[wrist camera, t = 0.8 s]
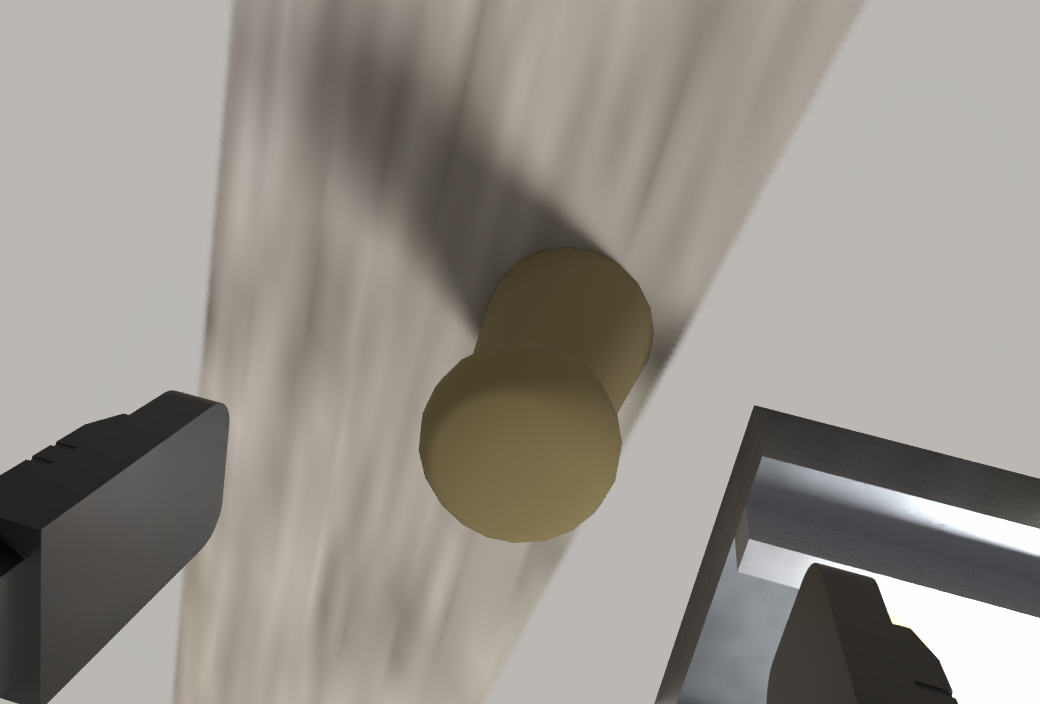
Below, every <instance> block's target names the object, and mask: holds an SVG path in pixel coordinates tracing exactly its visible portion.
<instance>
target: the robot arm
mask: <svg viewBox="0 0 1040 704" xmlns="http://www.w3.org/2000/svg"><path fill="white" fill-rule="evenodd" d="M228 431H229V413H228V409H227V407H226V406H225V405H224V404H223V403H219V402H215V401H212V400H208V399H204V398H200V397H197V396H193V395H189V394H185V393H182V392H178V391H173V390H171V391H167V392H165V393H163V394H162V395H160V396H159V397H157V398H156V399H154V400H152V401H151V402H149V403H148V404H146V405H145V406H143V407H141V408H140V409H138V410H136V411H135V412H133V413H132V414H130V415H127V414H121V415H117V416H114V417H110V418H107V419H103V420H99V421H96V422H92V423H89V424H85V425H83V426H82V427H80V428H78V429H77V430H75V431H74V432H72V433H70V434H68V435H67V436H65V437H63V438H62V439H60V440H58V441H57V442H56V445H55V446H52V445H50V446H48V447H47V448H45V449H43V450H42V451H40V452H39V453H37V454H35V455H33V457H32V460H31V461H30V460H25V461H23V462H22V463H20V464H18V465H17V466H15V467H13V468H12V469H10V470H8V471H7V472H5V473H3V474H2V475H0V698H2V699H5V700H9V701H12V702H15V703H18V704H47V703H48V702H49V701H50V700H51V699H52V698H53V697H54V696H55V695H56V694H57V693H58V692H59V691H60V690H61V689H62V688H63V687H64V686H65V685H66V684H67V683H68V682H69V681H70V680H71V679H72V678H73V677H74V676H75V675H76V674H77V673H78V672H79V671H80V670H81V669H82V668H83V667H84V666H85V665H86V664H87V663H88V662H89V661H90V660H91V659H92V658H93V657H94V656H95V655H96V654H97V653H98V652H99V651H100V650H101V649H102V648H103V647H104V646H105V645H106V644H107V643H108V642H109V641H110V640H111V639H112V638H113V637H114V636H115V635H116V634H117V633H118V632H119V631H120V630H121V629H122V628H123V627H124V626H125V625H126V624H127V623H128V622H129V621H130V620H131V619H132V618H133V617H134V616H135V615H136V614H137V613H138V612H139V611H140V610H141V609H142V608H143V607H144V606H145V605H146V604H147V603H148V602H149V601H150V600H151V599H152V598H153V597H154V596H155V595H156V594H157V593H158V592H159V591H160V590H161V589H162V588H163V587H164V586H165V585H166V584H167V583H168V582H169V581H170V580H171V579H172V578H173V577H174V576H175V575H176V574H177V573H178V572H179V571H180V570H181V569H182V568H183V567H184V566H185V565H186V564H187V563H188V562H189V561H190V560H191V559H192V558H193V557H194V556H195V555H196V554H197V553H198V552H199V551H200V550H201V549H202V548H203V547H204V546H205V544H206V543H207V541H208V540H209V538H210V537H211V535H212V533H213V531H214V529H215V526H216V524H217V521H218V519H219V515H220V511H221V507H222V499H223V488H224V476H225V465H226V454H227V442H228ZM952 694H953V690H952V688H951V685H950V683H949V681H948V678H947V676H946V674H945V672H944V669H943V667H942V665H941V662H940V660H939V659H938V658H937V657H936V655H935V654H934V653H933V652H932V651H931V650H930V649H929V648H928V647H927V646H926V644H925V643H924V642H923V641H922V640H921V639H920V638H919V637H918V636H917V635H916V633H915V632H914V631H913V630H912V629H911V628H908V627H905V626H901V625H897V624H894V623H892V621H891V618H890V615H889V613H888V610H887V607H886V605H885V602H884V600H883V597H882V594H881V592H880V589H879V586H878V584H877V582H876V580H875V579H874V578H872V577H869V576H865V575H861V574H857V573H854V572H850V571H846V570H842V569H839V568H835V567H831V566H827V565H823V564H820V563H816V562H815V563H813V564H811V565H810V566H809V568H808V569H807V571H806V573H805V575H804V578H803V580H802V583H801V585H800V588H799V591H798V594H797V596H796V599H795V602H794V605H793V607H792V610H791V613H790V615H789V618H788V621H787V624H786V626H785V629H784V632H783V634H782V637H781V640H780V643H779V645H778V648H777V651H776V654H775V656H774V659H773V662H772V666H771V670H770V675H769V680H768V687H767V701H766V702H767V704H958V702H957V699H956V698H954V697H952Z"/></svg>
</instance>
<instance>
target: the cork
mask: <svg viewBox="0 0 1040 704" xmlns="http://www.w3.org/2000/svg"><path fill="white" fill-rule="evenodd" d="M653 334H654V332H653V324H652V317H651V310H650V306H649V304H648V302H647V300H646V298H645V296H644V294H643V292H642V290H641V288H640V286H639V284H638V283H637V282H636V281H635V280H634V279H633V278H632V277H631V276H630V275H629V274H628V273H627V272H626V271H625V270H624V269H623V268H622V267H621V266H620V265H619V264H617V263H615V262H613V261H611V260H609V259H607V258H605V257H604V256H602V255H600V254H598V253H596V252H593V251H587V250H581V249H575V248H570V247H565V248H558V249H551V250H544V251H540V252H538V253H536V254H534V255H532V256H530V257H528V258H526V259H524V260H521V261H519V262H517V263H516V264H515V265H514V266H513V267H512V268H511V269H510V270H509V271H508V272H507V273H506V274H505V275H504V277H503V278H502V279H501V280H500V281H499V283H498V285H497V287H496V289H495V291H494V293H493V295H492V297H491V299H490V301H489V304H488V307H487V310H486V313H485V317H484V320H483V323H482V327H481V330H480V333H479V337H478V340H477V343H476V346H475V350H474V353H473V355H471V356H468V357H466V358H464V359H462V360H461V361H460V362H459V363H458V364H457V365H456V366H455V367H454V368H453V369H452V370H451V371H450V372H449V373H448V374H447V375H445V376H444V377H443V378H442V379H441V381H440V382H439V383H438V384H437V386H436V387H435V389H434V391H433V393H432V395H431V397H430V399H429V401H428V403H427V405H426V408H425V410H424V412H423V416H422V423H421V433H420V444H419V453H420V458H421V462H422V466H423V470H424V474H425V478H426V480H427V481H428V483H429V485H430V486H431V488H432V490H433V491H434V493H435V495H436V496H437V498H438V500H439V501H440V503H441V504H442V505H443V507H444V508H446V509H447V510H448V511H449V512H450V513H451V514H452V515H453V516H454V517H455V518H456V519H457V520H458V521H459V522H461V523H462V524H463V525H465V526H467V527H468V528H470V529H472V530H474V531H476V532H478V533H480V534H482V535H484V536H486V537H489V538H494V539H498V540H503V541H507V542H512V543H517V542H533V541H546V540H548V539H551V538H554V537H556V536H559V535H562V534H565V533H567V532H570V531H572V530H574V529H575V528H576V527H577V526H579V525H580V524H581V523H582V522H584V521H585V520H586V519H587V518H589V517H590V516H591V515H592V514H594V512H595V511H596V510H597V509H598V507H599V506H600V505H601V503H602V502H603V500H604V498H605V497H606V495H607V493H608V492H609V490H610V488H611V487H612V485H613V483H614V482H615V478H616V473H617V467H618V462H619V457H620V451H621V444H622V441H621V435H620V429H619V423H618V416H617V413H618V411H619V409H620V408H621V406H622V404H623V402H624V401H625V399H626V397H627V395H628V394H629V392H630V390H631V388H632V387H633V385H634V383H635V381H636V380H637V378H638V376H639V374H640V373H641V371H642V369H643V367H644V366H645V364H646V362H647V360H648V359H649V355H650V349H651V344H652V339H653Z"/></svg>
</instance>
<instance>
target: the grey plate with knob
mask: <svg viewBox="0 0 1040 704" xmlns="http://www.w3.org/2000/svg"><path fill="white" fill-rule="evenodd" d="M815 562H816V563H820V564H823V565H827V566H831V567H835V568H839V569H842V570H846V571H850V572H854V573H857V574H861V575H865V576H869V577H872V578H874V579H875V580H876V582H877V584H878V586H879V589H880V592H881V594H882V597H883V600H884V602H885V605H886V607H887V610H888V613H889V615H890V618H891V621H892V623H894V624H897V625H901V626H905V627H908V628H911V629H912V630H913V631H914V632H915V633H916V635H917V636H918V637H919V638H920V639H921V640H922V641H923V642H924V643H925V644H926V646H927V647H928V648H929V649H930V650H931V651H932V652H933V653H934V654H935V655H936V657H937V658H938V659H939V660H940V662H941V665H942V667H943V669H944V672H945V674H946V676H947V678H948V681H949V683H950V685H951V688H952V690H953V694H952V697H954V698H956V699H957V702H958V704H1040V479H1038V478H1034V477H1030V476H1026V475H1023V474H1019V473H1015V472H1011V471H1007V470H1003V469H999V468H996V467H992V466H988V465H984V464H980V463H976V462H972V461H968V460H964V459H961V458H956V457H953V456H949V455H945V454H941V453H937V452H933V451H929V450H926V449H922V448H918V447H914V446H910V445H906V444H902V443H898V442H894V441H891V440H887V439H883V438H879V437H875V436H871V435H867V434H864V433H860V432H856V431H852V430H848V429H844V428H840V427H836V426H833V425H828V424H825V423H821V422H817V421H813V420H809V419H805V418H802V417H798V416H794V415H790V414H786V413H782V412H778V411H774V410H770V409H767V408H763V407H759V406H754V408H753V410H752V413H751V416H750V420H749V422H748V425H747V428H746V431H745V434H744V437H743V440H742V443H741V446H740V449H739V452H738V456H737V458H736V461H735V464H734V467H733V470H732V473H731V476H730V479H729V482H728V485H727V488H726V491H725V494H724V497H723V500H722V503H721V506H720V509H719V512H718V515H717V518H716V521H715V524H714V527H713V530H712V533H711V536H710V539H709V542H708V545H707V548H706V551H705V554H704V557H703V560H702V563H701V566H700V569H699V572H698V575H697V578H696V581H695V584H694V587H693V590H692V593H691V596H690V599H689V602H688V605H687V608H686V611H685V614H684V617H683V620H682V623H681V626H680V629H679V632H678V635H677V638H676V641H675V644H674V647H673V650H672V653H671V656H670V659H669V662H668V665H667V668H666V671H665V674H664V677H663V680H662V683H661V686H660V689H659V692H658V695H657V698H656V701H655V704H767V702H766V701H767V687H768V680H769V675H770V670H771V666H772V662H773V659H774V656H775V654H776V651H777V648H778V645H779V643H780V640H781V637H782V634H783V632H784V629H785V626H786V624H787V621H788V618H789V615H790V613H791V610H792V607H793V605H794V602H795V599H796V596H797V594H798V591H799V588H800V585H801V583H802V580H803V578H804V575H805V573H806V571H807V569H808V568H809V566H810V565H811V564H813V563H815Z"/></svg>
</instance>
